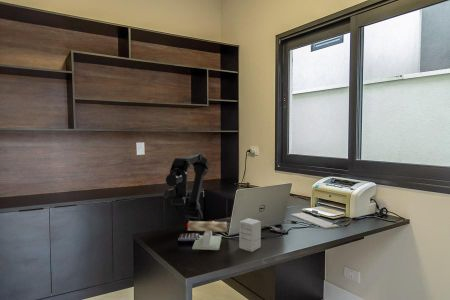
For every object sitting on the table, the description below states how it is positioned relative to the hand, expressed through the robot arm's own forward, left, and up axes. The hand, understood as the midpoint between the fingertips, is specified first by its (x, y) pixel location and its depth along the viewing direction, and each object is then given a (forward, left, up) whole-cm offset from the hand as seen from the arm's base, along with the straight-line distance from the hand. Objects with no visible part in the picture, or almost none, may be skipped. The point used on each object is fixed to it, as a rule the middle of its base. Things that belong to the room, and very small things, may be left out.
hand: (181, 214), depth 156 cm
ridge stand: (+6, +14, -12) cm, 19 cm away
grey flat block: (-39, +74, -13) cm, 85 cm away
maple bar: (+6, +14, -6) cm, 16 cm away
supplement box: (+10, +34, -12) cm, 37 cm away
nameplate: (-22, +46, -13) cm, 53 cm away
